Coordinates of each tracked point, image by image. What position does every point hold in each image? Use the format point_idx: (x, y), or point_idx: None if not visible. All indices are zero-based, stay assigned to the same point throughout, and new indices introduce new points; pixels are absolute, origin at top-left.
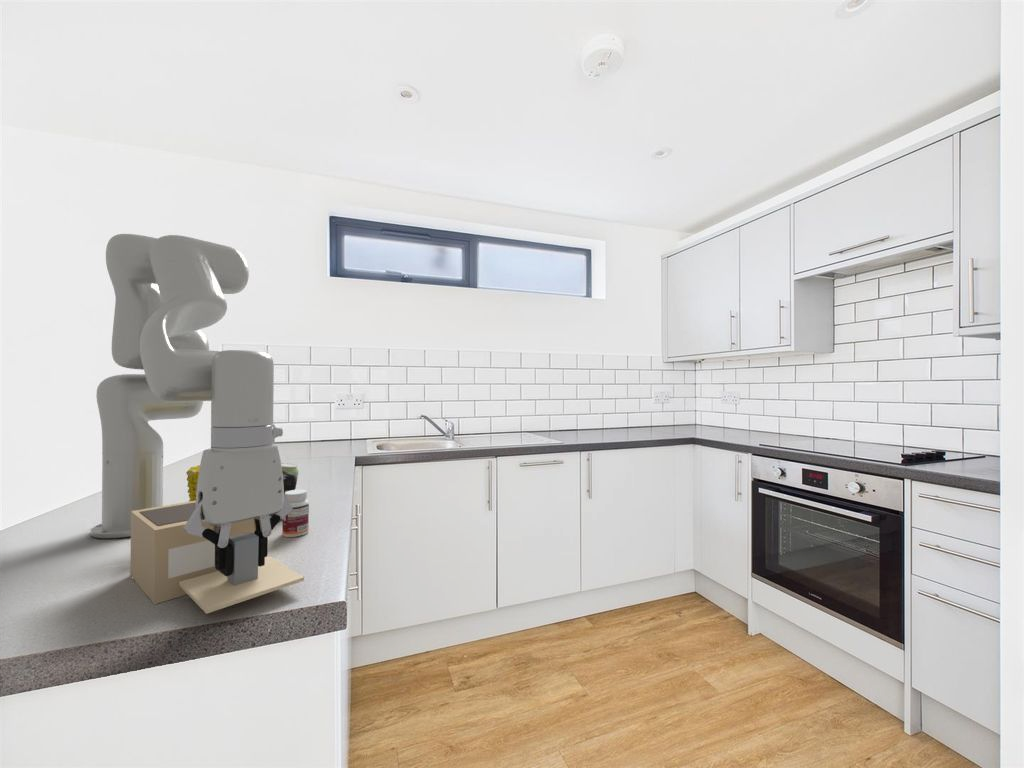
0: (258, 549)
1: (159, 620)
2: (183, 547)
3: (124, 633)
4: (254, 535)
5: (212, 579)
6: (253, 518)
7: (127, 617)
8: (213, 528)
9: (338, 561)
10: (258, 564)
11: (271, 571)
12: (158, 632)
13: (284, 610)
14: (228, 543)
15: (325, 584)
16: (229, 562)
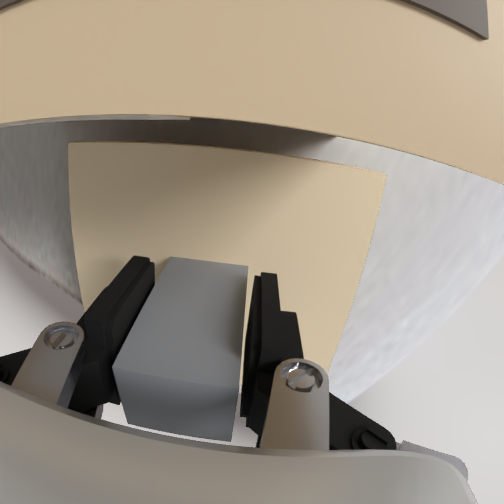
0: (242, 382)
1: (49, 223)
2: (7, 126)
3: (9, 226)
4: (224, 425)
5: (140, 209)
6: (262, 443)
7: (15, 149)
8: (19, 379)
9: (483, 272)
10: (245, 340)
11: (299, 304)
12: (46, 275)
13: (239, 390)
14: (109, 394)
15: (368, 361)
16: None
